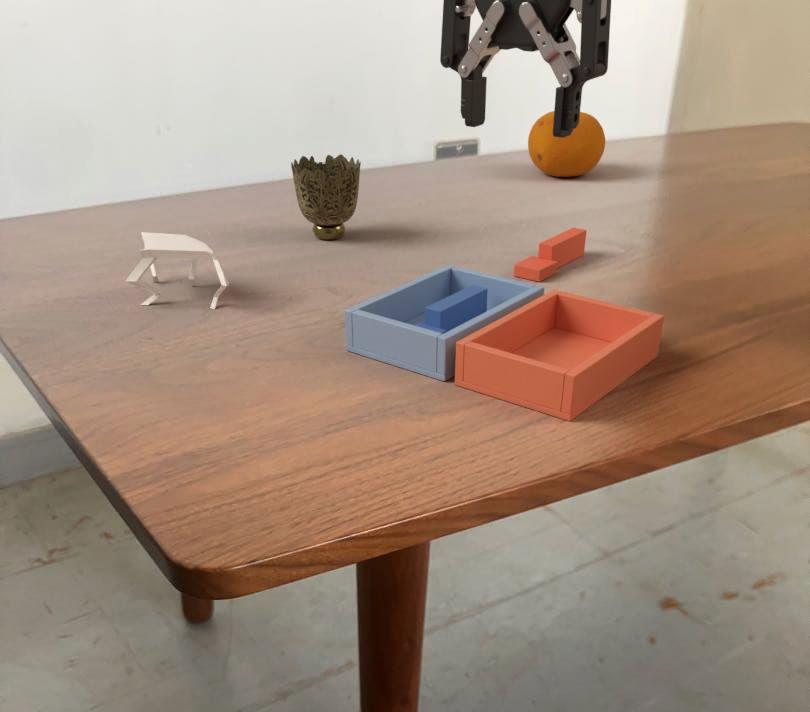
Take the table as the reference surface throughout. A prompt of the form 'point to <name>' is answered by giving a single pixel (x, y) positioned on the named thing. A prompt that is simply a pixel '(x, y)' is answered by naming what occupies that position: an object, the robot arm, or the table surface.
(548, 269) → the salmon l-shaped block
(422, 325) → the blue stepped bar
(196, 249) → the origami figure
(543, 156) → the fruit
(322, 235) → the cup
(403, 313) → the blue bin
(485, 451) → the table surface
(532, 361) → the coral bin
